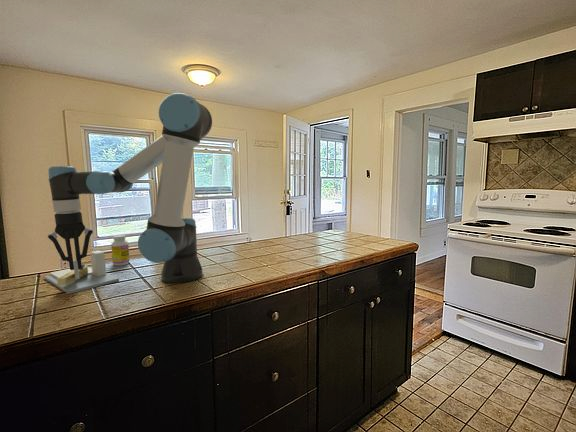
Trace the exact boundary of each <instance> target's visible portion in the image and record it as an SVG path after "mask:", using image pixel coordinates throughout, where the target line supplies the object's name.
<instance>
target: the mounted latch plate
mask: <svg viewBox="0 0 576 432" xmlns="http://www.w3.org/2000/svg"><path fill="white" fill-rule="evenodd" d="M89 253H90V261H91V262H90V263H91V264H90V265H91V266H87V265H85V263H81V264H82V267H85V266H86V267H88V274H87V275H85V276H82V277H80V279H77V280H75V281H73V282H71V283H70V284H68V285H66V286H58V284H57V278H59V277H61V276H63V275H65V274H67V273H69V272H71V271H73V270H70V268H67V269H62V270H61V269H60V270H56V271H52V272H50V273H49V274H48V275H44V277H43V278H44V280H46V281H48V282H49V283H51V284H52V285H54V287H57V288H59V289H60V290H61V291H63V292H64V293H66V294H68V295H70V294H74V293H77V292H82V291H85V290H90V289H93V288H98V287H101V286H105V285H108V284H113V283H117V282H119V281H120V278H119V277H117V276H115V275H112V274H109V273H107V269H106V258H105V257H106V255H105V251H102V250H93V251H90V252H89Z"/></svg>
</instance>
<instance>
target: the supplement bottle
mask: <svg viewBox="0 0 576 432" xmlns="http://www.w3.org/2000/svg"><path fill="white" fill-rule="evenodd" d="M112 237H113V241H112V242H111V257H112V258H111V259H112V265H113V266H117V267H120V266H125V265H128V264H130V251H129V249H130V247H129V242H128V241H127V240H126V235H125V234H119V235H118V234H117V235H113V236H112Z"/></svg>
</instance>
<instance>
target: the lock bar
mask: <svg viewBox="0 0 576 432" xmlns="http://www.w3.org/2000/svg"><path fill="white" fill-rule="evenodd" d="M86 266H87V265H85V267H82V268H81V269H78V271H79V278H80V277H82V276H85V275H87V274H88V267H89V266H87V267H86ZM75 280H77V279H75V273H74V270H73V271H71V272H69V273H67V274H65V275H63V276H61V277H59V278H57V284H58V286H66V285H68V284H70V283H71V282H73V281H75Z"/></svg>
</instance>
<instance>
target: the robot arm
mask: <svg viewBox="0 0 576 432" xmlns="http://www.w3.org/2000/svg"><path fill="white" fill-rule="evenodd" d="M158 118H159V120H160V123H161V124H162V131H161V136H160V137H158V138H157V139H156V140H154V141H153V142H151V143H150V144H148V145H147V146H146V147H144V148H143V149H142V150H140V151H139V152H137V153H136V154H135V155H134V156H132V157H130V158H129V159H128V160H126V161H125V162H124V163H122V164H121V165H119V166H118V167H117V168H115V169H114V170H112V171H104V170H94V171H77V169H76V167H75V166H69V165H67V166H66V165H65V166H64V165H61V166H50V167H49V168H48V169H47V170H48V182H49V187H50V193H51V198H52V201H51V202H52V208H53V212H54V213H55V214H54V215H53V216H54V221H55V228H54V231H53V232H52V233H50V234H48V235H47V238H48V240H50V241H51V242H52V243H53V245H54V247H55V249H56V251H57V253H58V254H59V257H60V259H61V260H62V261H64V262H68V267H69V269H70V270H74V273H75V279H80V278H79V271H78V269H81V268H82V264H83V263H82V259H83V258H86V257H87V256H88V249H89V244H90V238H91V236H92V234H93V229H92V228H91V229H90V228H87V227H86V226H85V224H84V222H83V215H82V212H81V210H82V207H81V199H80V195H105V194H110V193H124V192H128V191H129V190H131V189H132V187H133V185H134V184H135V182H137V181H138V180H140V179H142V178H143V177H144V176H146V175H147V174H149V173H150V172H152V170H154V169H156V168H157V167H159V166H160V165H161V169H160V174H159V175H160V176H159V183H158V187H157V188H158V189H157V193H156V199H155V200H156V201H155V206H154V212H153V214H152V215H151V216H150V217H148V218H147V223H146V229H145V230H144V231H143V232H142V233H141V234H140V235H139V237H138V239H137V248H138V251H139V252H140V254H141V255H142V256H143V257H144V259H146V260H147V261H149V262H150V263H151V262H152V263H154V264H155V263H156V264H162V263H163V266H162V270H161V273H160V277H161V281H163V282H165V283H172V284H181V283H187V282H192V281H196V280H198V279H200V278H202V276H203V275H204V274H203V268H202V265H201V262H200V260H199V257H198V248H197V247H198V246H197V245H198V244H197V243H198V241H197V224H196V220H195V219H194V218H191V217H190V218H188V217H187V218H186V217H185V218H184V217H183V210H184V205H185V200H186V194H187V189H188V188H187V187H188V182H189V177H190V171H191V166H192V161H193V154H194V149H195V147H197V146H199V145H200V143H201V140H202V139H204V138H205V137H206V136H207V135H209V133H210V132H211V130H212V125H213V117H212V114H211V112H210V110H209V109H208V108H207V107H206V106H205V105H203V104H202V103H200V102H199V101H197V100H196V99H195V98H194V97H192V96H190V95H188V94H186V93H182V92H181V93H180V92H175V93H171V94H169V95H168V96H166V97H165V98H164V99H163V100H162V101H161V103H160V104H159V107H158ZM182 217H183V218H182ZM83 232H84V234H85V235H84V241H83V246H82V251H81V249H80V248H81V247H80V241H79V239H80V237H81V235H82V234H83ZM57 235H58V236H60V237H61V239H64V243H65V246H66V247H65V248H66V253H67V256H66V254H65V252H64V251H63V248H62V246H61V245H60V243H59V240H58V236H57ZM72 239H73V243H74V250H75V251H74V252H75V259H74V258H73V253H72V245H71V240H72Z"/></svg>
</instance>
